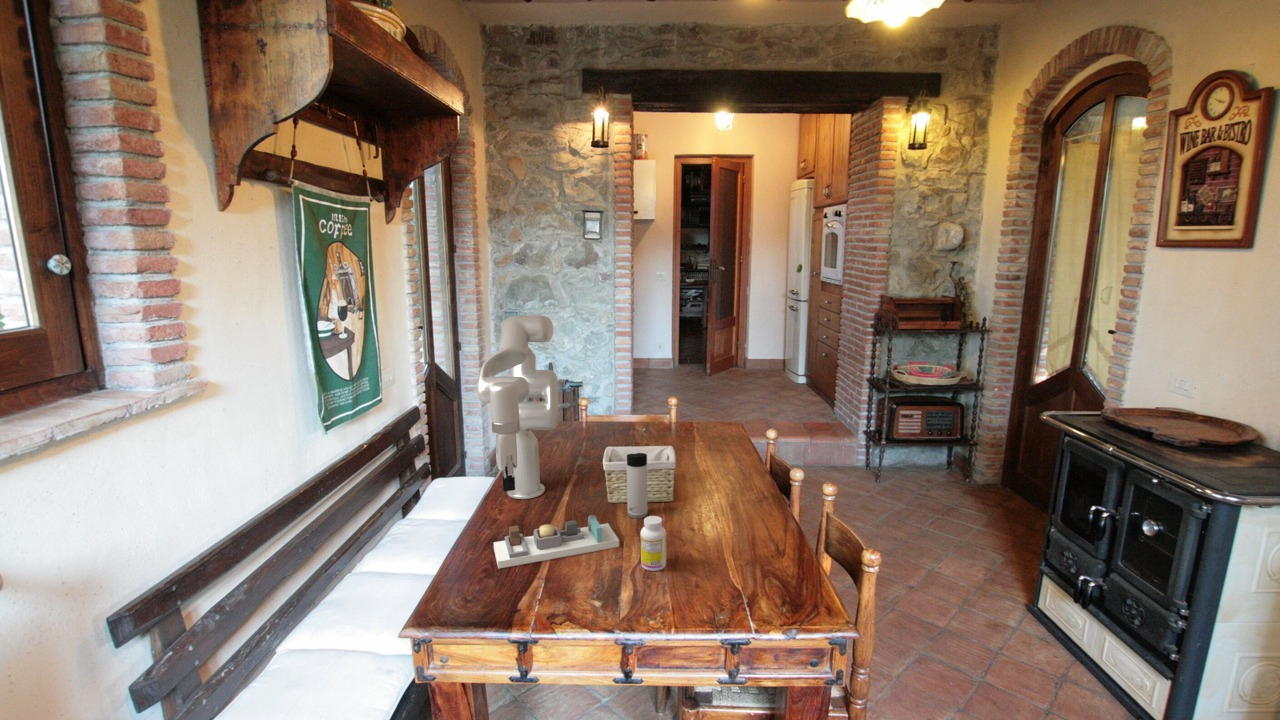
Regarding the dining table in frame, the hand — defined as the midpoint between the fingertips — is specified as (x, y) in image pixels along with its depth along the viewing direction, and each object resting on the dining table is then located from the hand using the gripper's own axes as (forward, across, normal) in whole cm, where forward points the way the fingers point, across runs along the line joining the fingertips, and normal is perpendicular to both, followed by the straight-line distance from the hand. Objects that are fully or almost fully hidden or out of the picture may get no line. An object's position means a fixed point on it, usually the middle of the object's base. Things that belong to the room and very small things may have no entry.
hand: (509, 489), depth 167 cm
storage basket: (+15, -18, +45) cm, 51 cm away
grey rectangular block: (+13, +8, +16) cm, 22 cm away
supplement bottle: (+16, +27, +33) cm, 45 cm away
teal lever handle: (+13, +10, +22) cm, 27 cm away
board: (+15, +9, +11) cm, 21 cm away
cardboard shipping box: (+13, +6, 0) cm, 15 cm away
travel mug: (+15, -3, +39) cm, 42 cm away
